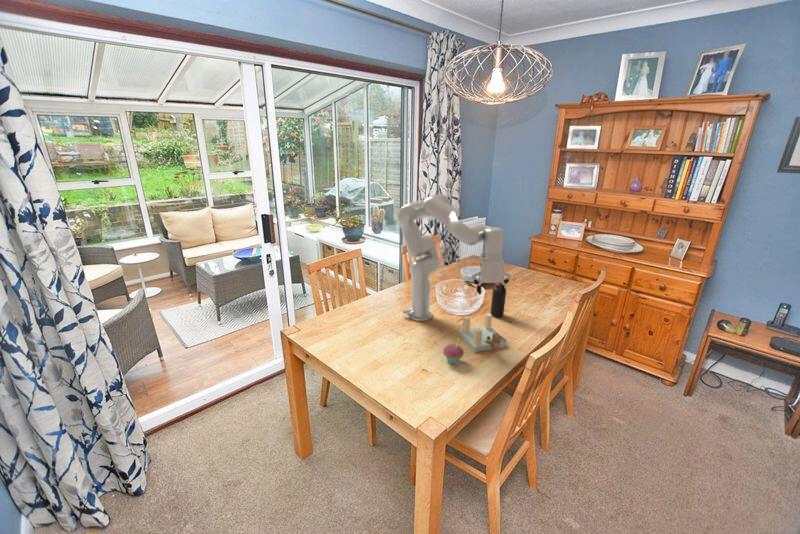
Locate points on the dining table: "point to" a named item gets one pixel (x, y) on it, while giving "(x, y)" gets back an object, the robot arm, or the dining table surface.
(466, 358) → the dining table surface
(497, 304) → the bottle
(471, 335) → the stool seat
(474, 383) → the dining table surface
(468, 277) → the serving bowl
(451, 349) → the cupcake
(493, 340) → the folding leg
